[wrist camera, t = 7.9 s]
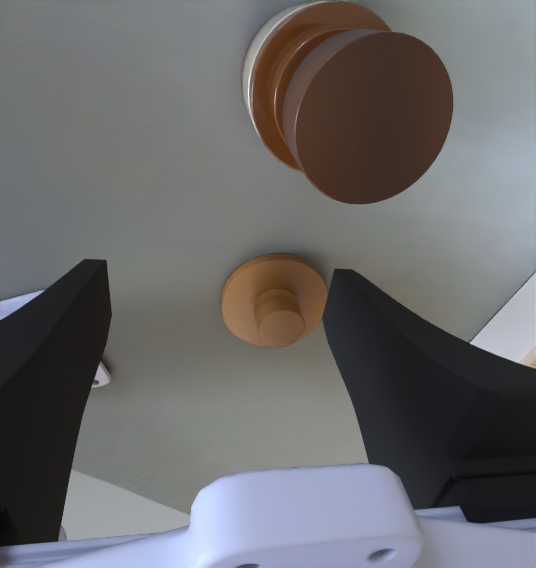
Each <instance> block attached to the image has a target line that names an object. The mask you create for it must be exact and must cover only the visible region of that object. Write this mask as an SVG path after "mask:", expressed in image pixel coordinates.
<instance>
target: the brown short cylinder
mask: <svg viewBox="0 0 536 568" xmlns="http://www.w3.org/2000/svg"><path fill="white" fill-rule="evenodd" d="M452 113H453V93H452V85H451V82H450V78H449V75H448V72H447V70H446V68H445V66H444V64H443V62H442V61H441V59H440V58H439V56H438V55H437V54H436V53H435V52H434V50H433V49H432V48H431V47H429V46H428V45H427V44H425V43H424V42H423V41H421V40H419V39H417V38H415V37H413V36H410V35H407V34H404V33H398V32H390V31H381V30H372V29H354V30H349V31H345V32H342V33H339V34H336V35H334V36H332V37H330V38H328V39H326V40H325V41H323V42H322V43H320V44H319V45H318V46H316V47H315V48H314V49H313V50H312V51H311V52H310V53H309V54H308V55H307V56H306V57H305V58H304V60H303V61H302V62H301V63H300V65H299V66H298V68H297V69H296V71H295V73H294V75H293V76H292V78H291V80H290V83H289V85H288V88H287V91H286V95H285V99H284V104H283V112H282V123H283V131H284V136H285V140H286V143H287V145H288V148H289V150H290V152H291V154H292V155H293V157H294V159H295V160H296V162H297V163H298V165H299V166H300V168H301V170H302V171H303V173H304V174H305V176H306V177H307V178H308V180H309V181H310V182H311V184H312V185H313V186H314V187H315V188H317V189H318V190H319V191H320V192H322V193H323V194H324V195H326V196H328V197H330V198H332V199H334V200H337V201H340V202H343V203H349V204H370V203H375V202H379V201H383V200H386V199H388V198H391V197H393V196H395V195H397V194H399V193H401V192H402V191H404V190H406V189H407V188H408V187H410V186H411V185H412V184H414V183H415V182H416V181H417V180H418V179H419V178H420V177H421V176H422V175H423V174H424V173H425V172H426V171H427V170H428V169H429V167H430V166H431V165H432V163H433V162H434V161H435V159H436V158H437V156H438V154H439V153H440V151H441V149H442V147H443V145H444V142H445V140H446V138H447V135H448V132H449V129H450V124H451V120H452Z"/></svg>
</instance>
